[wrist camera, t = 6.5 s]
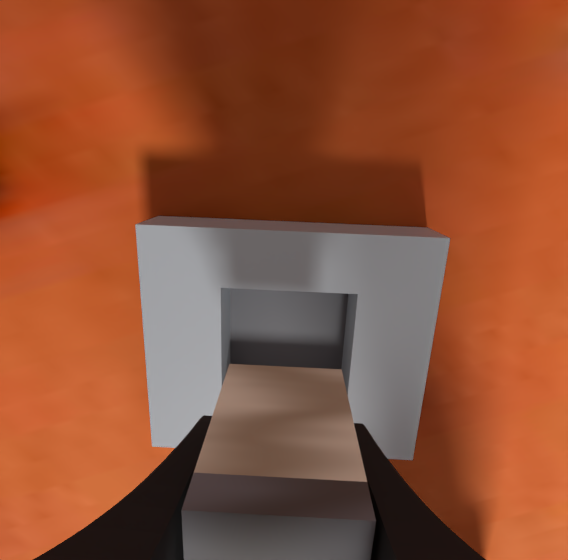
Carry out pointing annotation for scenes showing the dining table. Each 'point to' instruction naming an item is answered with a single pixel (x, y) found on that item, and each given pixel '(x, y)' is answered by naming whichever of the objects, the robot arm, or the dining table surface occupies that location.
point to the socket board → (289, 314)
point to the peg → (279, 472)
